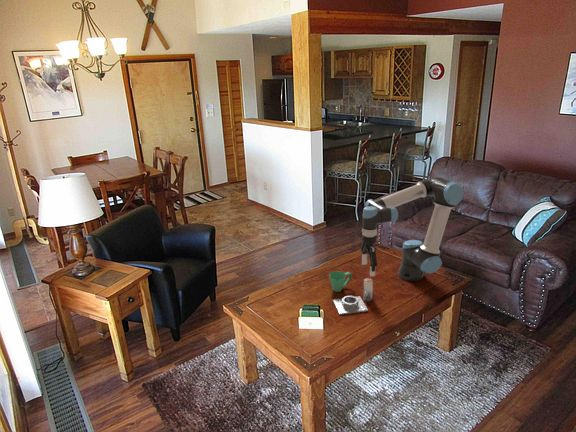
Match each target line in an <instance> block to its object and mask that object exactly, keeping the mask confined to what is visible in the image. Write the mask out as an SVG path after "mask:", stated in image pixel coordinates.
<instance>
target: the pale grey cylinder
mask: <svg viewBox="0 0 576 432" xmlns="http://www.w3.org/2000/svg"><path fill="white" fill-rule="evenodd" d="M373 285H374V279H372V278H368V277H367V278H364V279H363V297H362V300H363V301H364V302H371V301H372V300H373V292H374V291H373V290H374V289H373V288H374V286H373Z"/></svg>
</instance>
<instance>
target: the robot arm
mask: <svg viewBox="0 0 576 432" xmlns="http://www.w3.org/2000/svg"><path fill="white" fill-rule="evenodd" d="M463 196H464V189H463V187H462V186H461V185H460V184H459V183H456V182H455V181H452V180H449V179H446V178H443V177H439V176H438V177H429V178H426V179H423V180H421V181H418V182H416V184H415V185H412V186H410V187H407V188H404V189H402V190H400V191H397V192H393V193H392V194H389V195H387V196H383V197H381V198H378V199H376V200H375V199H371V198H370V199H367V201H365V203H364V208H363V210H362V229H361V232H362V233H361V234H362V235H361V236H362V237H361V247H360V251H361V265H362V266H365V265H368V257H369V263H370V265H369V276H370V277H376V267H378V260H377V253H376V250H377V249H376V247H375V245H374V244H375V243H377V233H378V227H377V226H378V225H379V224H384V223H392V222H394V221H397V219H399V212H398V209H397V208H396V207H399V206H402V205H404V204H407V203H409V202H412V201H414V200H417V199H419V198H426V197H427V198H428V197H432V198H433V197H434V198H433V202H432V203H433V204H434V208H433V211H432V215H431V217H430V220H429V221H430V222H429V224H428V228H427V231H426V235H425V238H424V241H421V240H418V239H409V240H405V241H403V243H402V253H401V254H402V255H401V264H400V266H399V268H398V272H397V275H398V277H399V278H401V279H402V280H405V281H408V282H417V281H420V280H422V279H423V278H424V273H426V274H433V273H436V272H437V271H438V270H439V269H440V268H441V266H442V261H443V260H442V258H441V257H440V254H441V251H440V246H441V242H442V238H443V235H444V233H445V230H446V225H447V223H448V219H449V217H450V213H451V210H453V209H454V208H455V207H456V206H457V205H459V204H460V202H462V200H463V198H464V197H463Z"/></svg>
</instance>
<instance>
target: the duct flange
mask: <svg viewBox="0 0 576 432" xmlns="http://www.w3.org/2000/svg"><path fill="white" fill-rule="evenodd" d="M332 301H333V302H332V303H333V304H334V306H335V308H336V310H337V314H338V315H339V316H344V314H345V315H351V314H352V313H353V314H360V312H361V313H366V312H367V311H368V312H369V309H368V308H367V306H366V303H364V302H365V301H364V300H363V298H361V296H360V295H358V296H353V295H345V296H344V297H342V298H334V299H332ZM368 312H367V313H368Z"/></svg>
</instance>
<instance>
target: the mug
mask: <svg viewBox="0 0 576 432" xmlns="http://www.w3.org/2000/svg"><path fill="white" fill-rule="evenodd" d="M347 276H348V277H347ZM328 277H329V281H330V285H331V289H332V291H334V292H335V293H340V292H341V291H342V290H343V288H344V287H346V286H347V285H348V284H349V282H350V281H351V280H352V273H351V272H350V271H346V272H343V271H340V270H337V271H336V270H334V271H331V272H330V273H329V275H328Z"/></svg>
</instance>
